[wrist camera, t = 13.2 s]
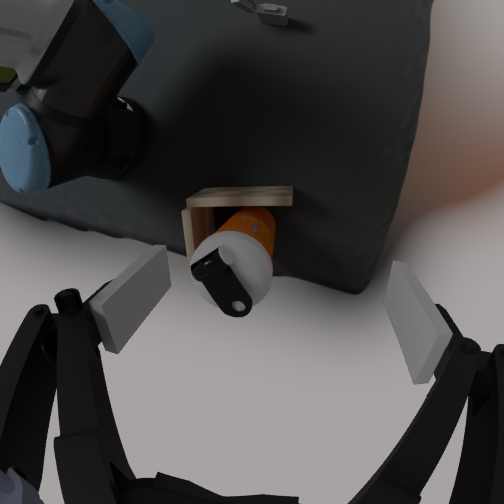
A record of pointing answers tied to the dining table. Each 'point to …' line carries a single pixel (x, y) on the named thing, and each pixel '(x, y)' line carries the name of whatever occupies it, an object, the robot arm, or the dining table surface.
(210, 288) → the shaker bottle
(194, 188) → the dining table surface
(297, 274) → the dining table surface
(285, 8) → the lighter
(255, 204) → the bookend
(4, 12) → the robot arm
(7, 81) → the tea box
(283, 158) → the dining table surface
